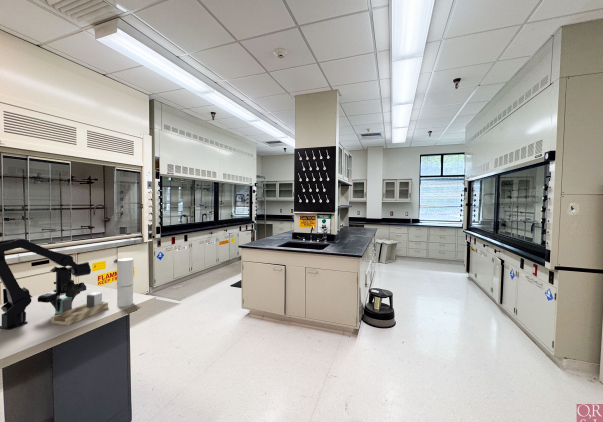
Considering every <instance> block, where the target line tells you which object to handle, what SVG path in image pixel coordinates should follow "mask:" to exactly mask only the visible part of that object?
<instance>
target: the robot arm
mask: <svg viewBox="0 0 603 422" xmlns="http://www.w3.org/2000/svg"><path fill="white" fill-rule="evenodd" d="M19 248H21V249H23V250H26V251H28V252H30V253H33V254H36V255H38V256H41V257H44V258H46V259H48V260H49V261H50V262H52V263H54V264H56V265H58V266H60V267H57V266H53V268H51V269H50V270H49V271H50V272H51V273H55V281H53V285H55V289H53V293H49V292H48V293H44V294H41V295H39V296H37V302H38V303H47V304H48V303H50V304H51V305H52V307H53V308H54V310H55V309H56V311H57V312H59V311H60V301H61V300H62V299H60V298H61V296H64V297H65V296H67V297H72V303H73V302H74V299H75V298H76V296H78V295H80V294H81V292H85V291H87V285H86V284H85V283H84V282H79V283H75V280H74V279H72V276H73V277H75V278H77V277H82V276H88V275H90V274H91V273H92V268H91V266H90V262H88V261H85V262H80V263H76V261H74V257H73V256H72V255H70V254H66V253H63V252H58V251H53V250H51V249H48V248H46V247H44V246H41V245H39V244H36V243H34V242H31V241H30V240H29V241H28V240H27V239H25V238H22V237H17V238H13V239H6V240H0V281H1V283H2V285H3V287H4V288H5V291H6V298H7V302H5V303H4V304H3V305H2V306H1V307H0V309H1V310H2V312H3V313H2V314H1V325H0V329H3V330H4V329H5V330H12V329H14V328H17V327H21V326H22V325H26V324H28V323H29V321H27V312H26V309H27V307H29V305H30V304H31V303H32V298H33V296H32V295H31V294H30V291H29V289H28V288H26V287H22V288H21V286H20V285H19V283H18V281H17V279H16V277H15V275H14V273H13V271H12V270H11V268H10V266H9V264H8V262H7V261H6V254H5V252H8V251H12V250H16V249H19Z"/></svg>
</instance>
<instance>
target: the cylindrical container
mask: <svg viewBox="0 0 603 422" xmlns="http://www.w3.org/2000/svg"><path fill="white" fill-rule="evenodd" d="M116 278H117V280H116V282H117V283H116V287H117V289H116V291H117V292H116V306H117V307H118V308H125V307H129V306H131V305H133V303H134V258H133V257H124V258H118V259H117V277H116Z"/></svg>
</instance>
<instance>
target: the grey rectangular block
mask: <svg viewBox="0 0 603 422" xmlns="http://www.w3.org/2000/svg"><path fill="white" fill-rule="evenodd" d="M102 302H103V292H99V291H93V292H91V293H88V294H86V303H87V308H92V307H95V306H97V305H100V304H102Z"/></svg>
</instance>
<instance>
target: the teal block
mask: <svg viewBox="0 0 603 422" xmlns="http://www.w3.org/2000/svg"><path fill="white" fill-rule="evenodd" d="M60 299H62V300H61V301H60V311H59V312H57V311H56V309H55V308H54V311H55V313H54V314H55V315H58V314H61V313H63V312H66V311H68V310H71V309H73V302H72V297H67V296H65V295H64V296H62V297H60Z"/></svg>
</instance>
